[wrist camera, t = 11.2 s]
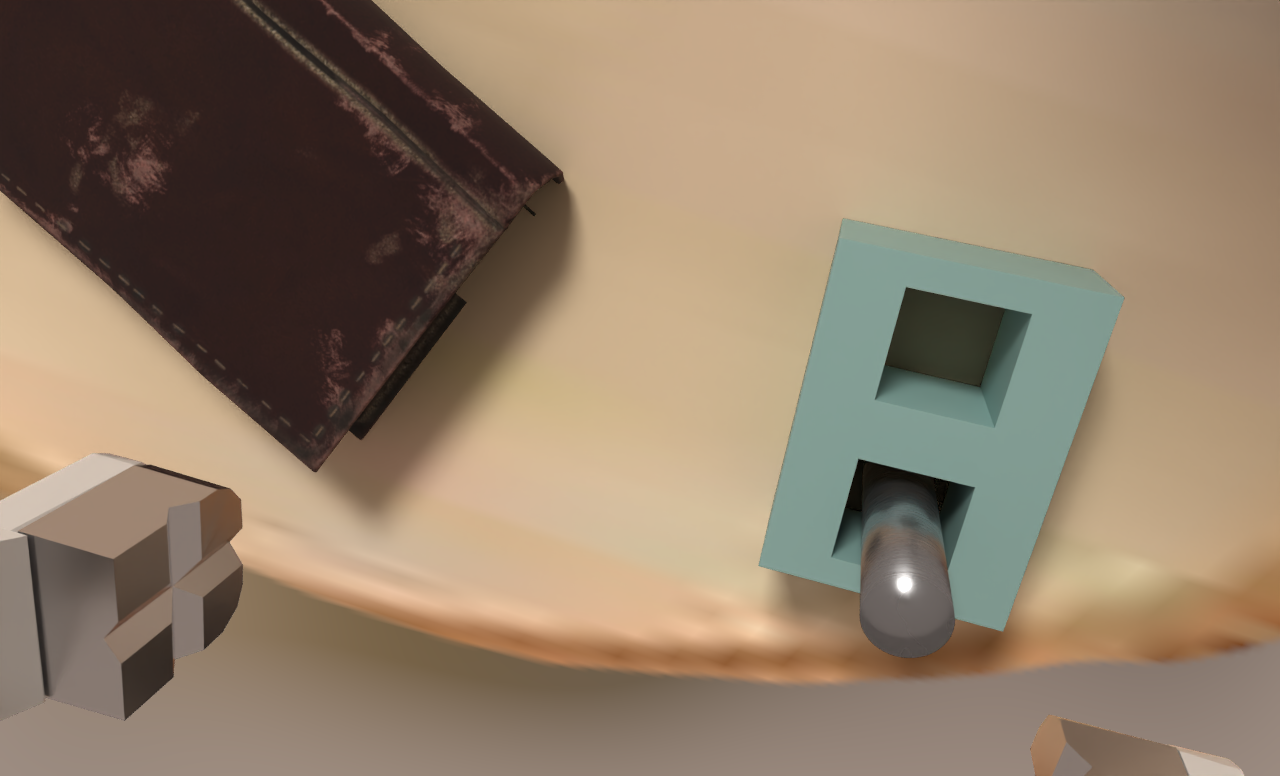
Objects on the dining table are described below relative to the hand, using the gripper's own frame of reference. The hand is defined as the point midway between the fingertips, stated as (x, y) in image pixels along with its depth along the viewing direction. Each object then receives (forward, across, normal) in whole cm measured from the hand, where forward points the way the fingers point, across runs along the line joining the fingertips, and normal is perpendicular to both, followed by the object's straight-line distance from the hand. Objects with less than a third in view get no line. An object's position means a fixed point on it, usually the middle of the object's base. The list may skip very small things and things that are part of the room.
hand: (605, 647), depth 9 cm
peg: (+32, -6, +12) cm, 35 cm away
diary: (+33, +26, +3) cm, 42 cm away
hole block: (+32, -6, +8) cm, 34 cm away
